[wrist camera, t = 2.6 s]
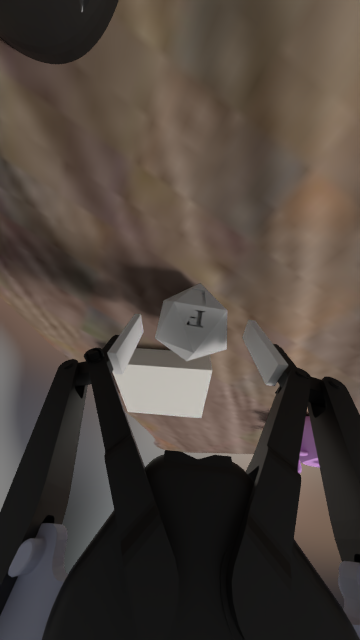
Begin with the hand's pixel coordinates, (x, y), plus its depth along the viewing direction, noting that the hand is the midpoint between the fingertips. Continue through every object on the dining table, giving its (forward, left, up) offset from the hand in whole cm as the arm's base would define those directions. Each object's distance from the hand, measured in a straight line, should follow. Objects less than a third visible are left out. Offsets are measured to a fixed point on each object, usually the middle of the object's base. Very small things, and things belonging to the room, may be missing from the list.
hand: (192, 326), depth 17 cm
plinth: (+19, -5, -5) cm, 20 cm away
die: (0, 0, -5) cm, 5 cm away
